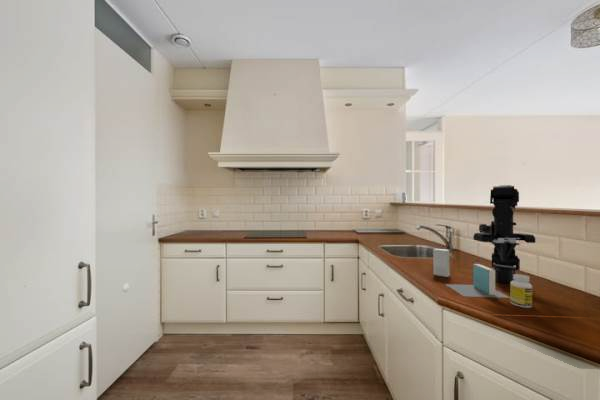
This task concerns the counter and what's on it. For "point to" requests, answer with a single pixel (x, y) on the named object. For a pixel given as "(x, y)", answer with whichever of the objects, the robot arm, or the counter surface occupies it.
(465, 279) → the counter surface
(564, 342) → the counter surface
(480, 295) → the mat
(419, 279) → the counter surface
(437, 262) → the skincare box
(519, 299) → the supplement bottle
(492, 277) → the tile
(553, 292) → the counter surface
